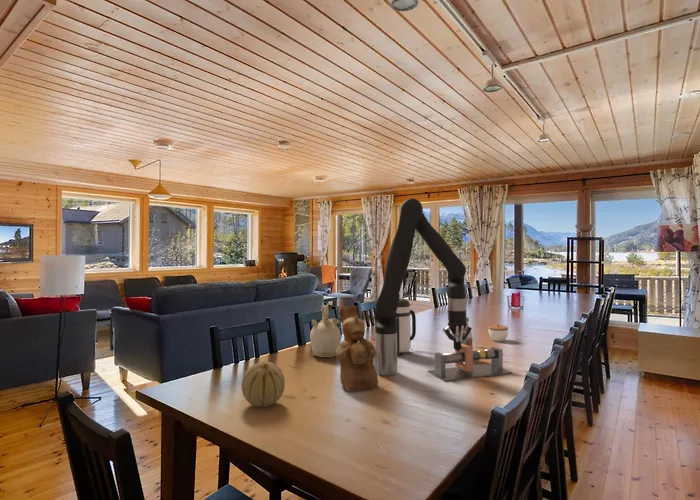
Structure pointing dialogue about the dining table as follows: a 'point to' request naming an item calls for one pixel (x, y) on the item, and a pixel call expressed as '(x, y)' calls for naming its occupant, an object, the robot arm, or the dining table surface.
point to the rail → (478, 370)
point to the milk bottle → (469, 338)
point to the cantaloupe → (263, 384)
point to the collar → (466, 358)
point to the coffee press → (404, 326)
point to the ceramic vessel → (355, 353)
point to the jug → (325, 336)
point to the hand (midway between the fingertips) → (457, 350)
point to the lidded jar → (498, 332)
